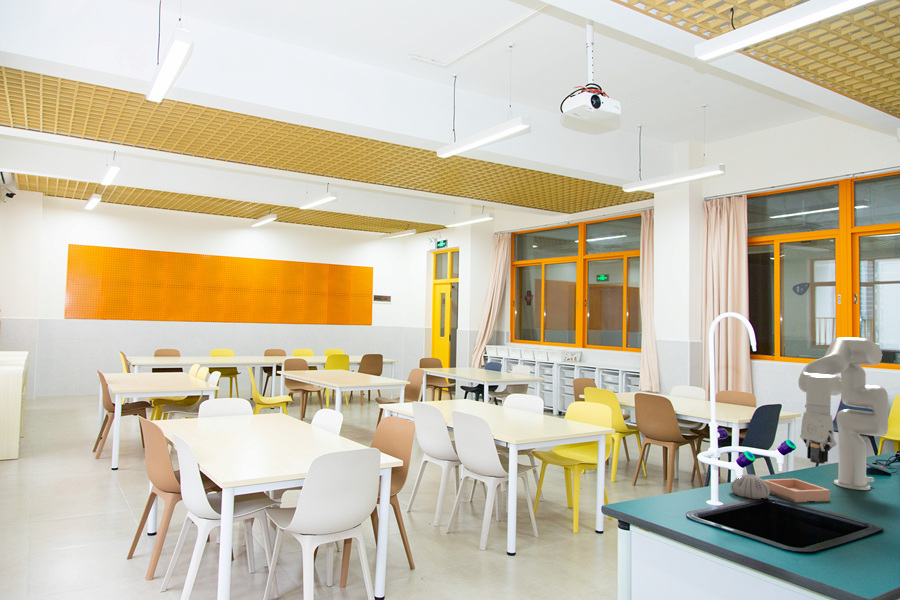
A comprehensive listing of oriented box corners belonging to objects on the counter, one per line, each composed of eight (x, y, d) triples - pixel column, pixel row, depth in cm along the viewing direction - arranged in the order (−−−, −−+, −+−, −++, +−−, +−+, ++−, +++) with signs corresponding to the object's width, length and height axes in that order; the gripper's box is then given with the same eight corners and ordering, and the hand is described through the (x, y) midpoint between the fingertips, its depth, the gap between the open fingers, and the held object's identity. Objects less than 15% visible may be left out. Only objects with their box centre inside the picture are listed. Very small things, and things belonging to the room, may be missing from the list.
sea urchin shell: (773, 503, 215) (774, 481, 215) (733, 498, 219) (733, 476, 219) (766, 493, 227) (766, 472, 227) (728, 489, 231) (728, 468, 232)
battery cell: (816, 460, 215) (817, 439, 215) (827, 463, 211) (828, 442, 211) (807, 460, 214) (807, 439, 214) (817, 463, 209) (818, 442, 210)
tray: (794, 488, 236) (795, 478, 236) (829, 500, 220) (830, 490, 220) (761, 489, 232) (762, 479, 232) (795, 502, 216) (795, 491, 216)
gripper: (790, 406, 220) (789, 455, 219) (830, 413, 204) (829, 466, 203) (806, 406, 222) (805, 454, 221) (847, 413, 206) (846, 465, 205)
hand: (817, 459), depth 212 cm, fingers closed on battery cell, 4 cm apart
